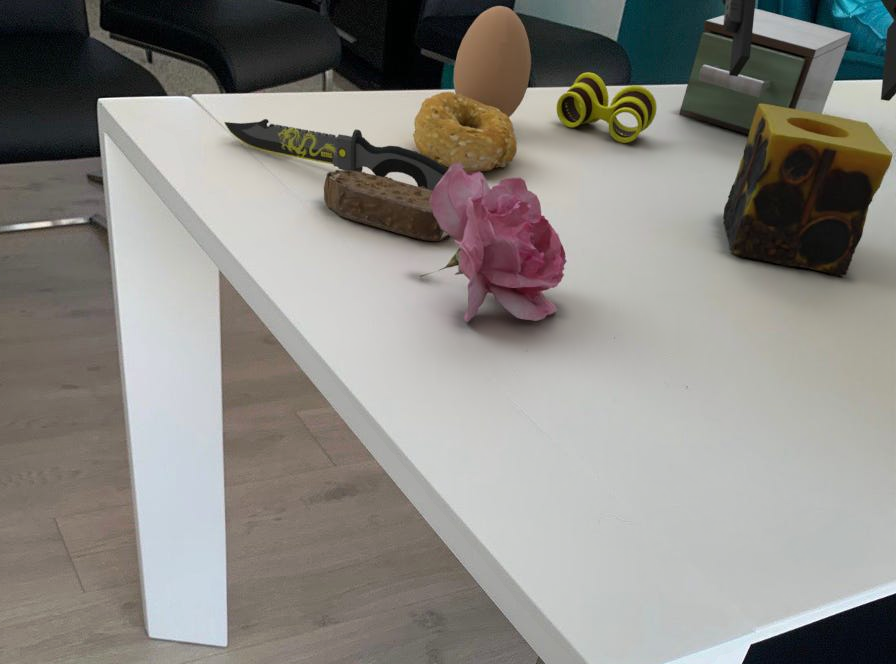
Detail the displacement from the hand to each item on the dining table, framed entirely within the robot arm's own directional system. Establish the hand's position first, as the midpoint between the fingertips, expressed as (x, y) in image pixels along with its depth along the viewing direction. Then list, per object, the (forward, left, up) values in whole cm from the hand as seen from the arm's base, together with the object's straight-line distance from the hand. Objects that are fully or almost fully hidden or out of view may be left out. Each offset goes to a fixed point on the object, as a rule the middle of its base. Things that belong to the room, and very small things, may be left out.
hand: (816, 79), depth 87 cm
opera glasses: (+22, -12, -12) cm, 28 cm away
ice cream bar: (+21, +29, -12) cm, 38 cm away
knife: (+32, +25, -12) cm, 42 cm away
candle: (-3, +5, -12) cm, 14 cm away
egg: (+31, -1, -12) cm, 33 cm away
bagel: (+27, +10, -12) cm, 32 cm away
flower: (+9, +36, -12) cm, 39 cm away
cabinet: (+13, -36, -12) cm, 40 cm away
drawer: (+13, -31, -11) cm, 36 cm away
